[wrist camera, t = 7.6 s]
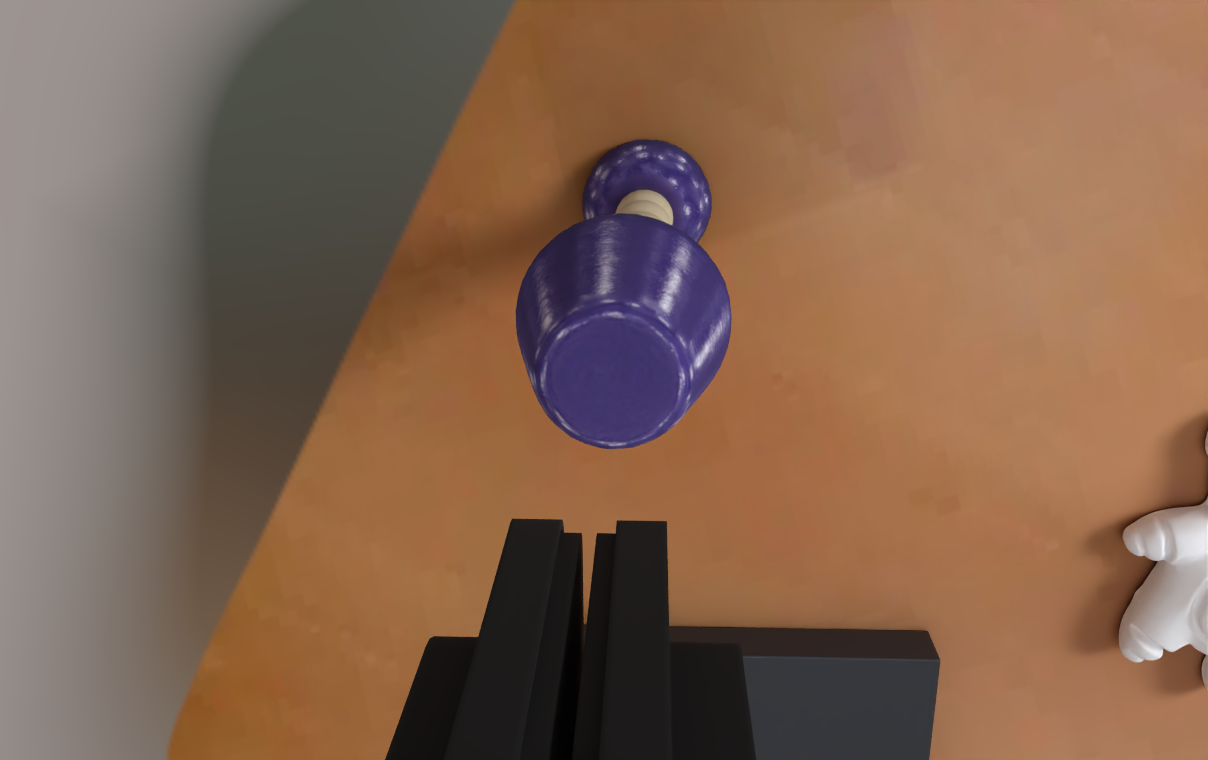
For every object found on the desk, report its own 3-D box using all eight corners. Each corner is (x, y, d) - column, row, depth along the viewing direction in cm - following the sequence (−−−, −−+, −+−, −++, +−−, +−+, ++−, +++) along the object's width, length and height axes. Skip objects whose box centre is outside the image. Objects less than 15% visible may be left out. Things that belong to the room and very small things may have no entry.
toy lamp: (663, 302, 36) (666, 533, 20) (542, 237, 35) (448, 422, 20) (734, 177, 34) (798, 323, 19) (609, 107, 34) (566, 197, 18)
